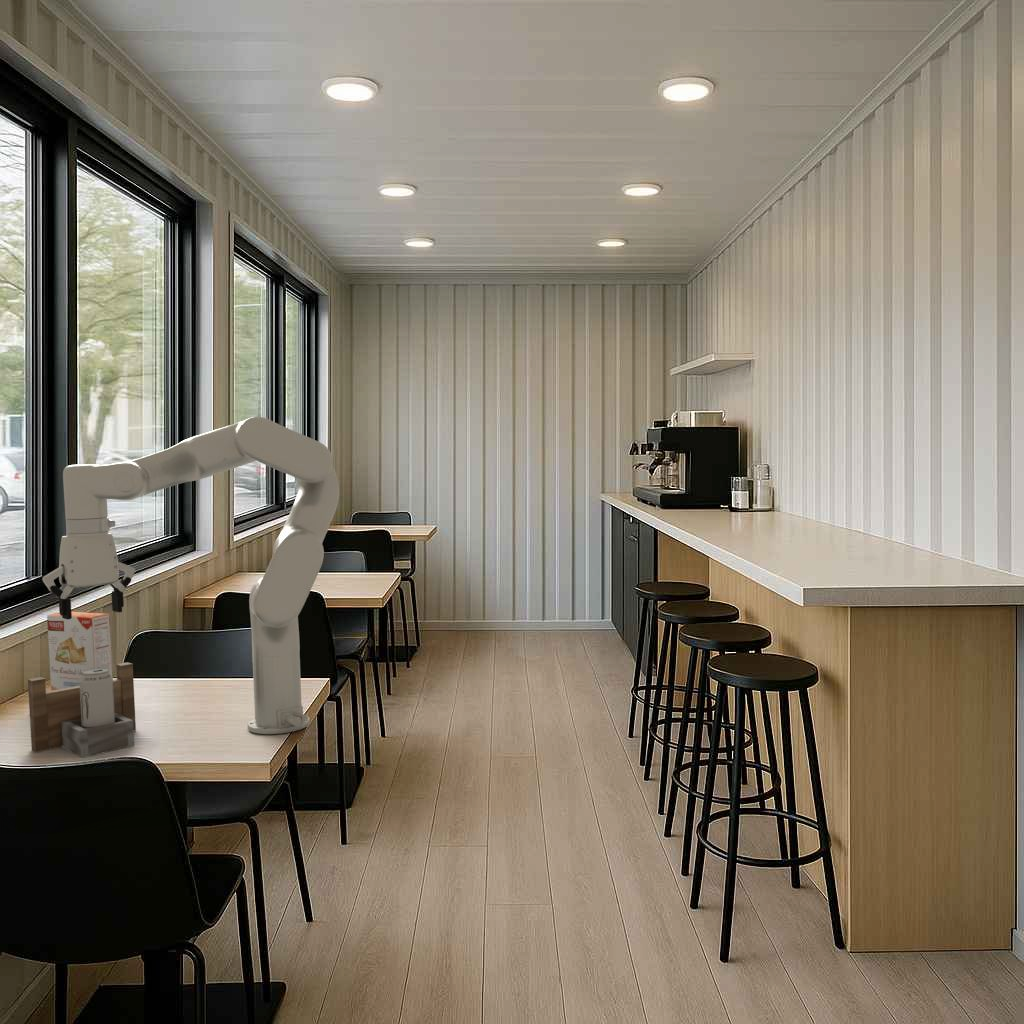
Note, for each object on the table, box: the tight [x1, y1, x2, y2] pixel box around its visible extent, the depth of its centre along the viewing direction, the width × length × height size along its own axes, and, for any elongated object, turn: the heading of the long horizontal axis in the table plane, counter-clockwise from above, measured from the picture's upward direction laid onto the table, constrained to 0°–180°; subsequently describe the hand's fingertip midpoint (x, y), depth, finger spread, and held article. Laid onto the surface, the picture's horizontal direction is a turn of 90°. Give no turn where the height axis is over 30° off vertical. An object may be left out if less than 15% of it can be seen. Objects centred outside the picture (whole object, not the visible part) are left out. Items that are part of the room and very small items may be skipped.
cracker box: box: [46, 611, 114, 691], centre depth 224 cm, size 14×6×21 cm, turn 68°
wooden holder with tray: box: [27, 661, 137, 758], centre depth 188 cm, size 13×20×14 cm, turn 135°
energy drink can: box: [79, 668, 115, 729], centre depth 187 cm, size 6×6×15 cm
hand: (92, 615), depth 186 cm, fingers open, 9 cm apart
